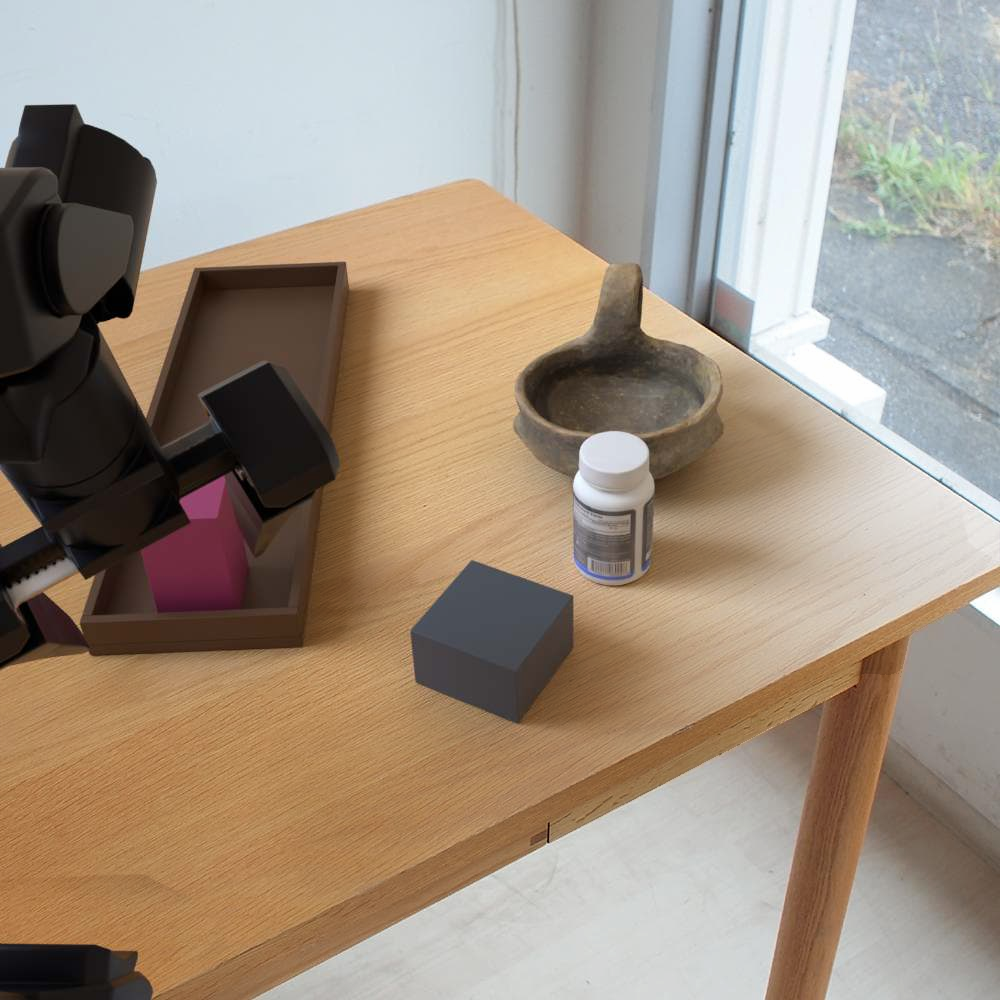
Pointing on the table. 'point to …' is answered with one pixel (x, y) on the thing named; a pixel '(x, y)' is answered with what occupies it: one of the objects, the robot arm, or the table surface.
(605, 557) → the pill bottle
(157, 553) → the mulberry block
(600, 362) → the bowl
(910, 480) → the table surface
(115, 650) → the tray
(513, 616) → the slate block
